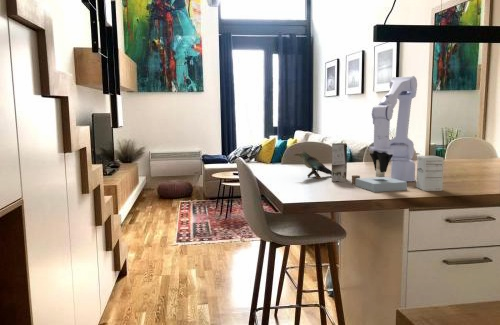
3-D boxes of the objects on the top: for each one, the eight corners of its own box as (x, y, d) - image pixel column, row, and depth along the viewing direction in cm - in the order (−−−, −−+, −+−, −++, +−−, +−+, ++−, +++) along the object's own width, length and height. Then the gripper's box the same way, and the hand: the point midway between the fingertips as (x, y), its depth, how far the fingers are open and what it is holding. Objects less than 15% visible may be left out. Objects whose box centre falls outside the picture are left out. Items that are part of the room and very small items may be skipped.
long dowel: (381, 175, 166) (381, 159, 165) (386, 176, 163) (386, 160, 162) (374, 176, 165) (374, 159, 164) (378, 177, 162) (379, 160, 161)
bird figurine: (328, 172, 202) (310, 137, 195) (341, 175, 193) (323, 139, 186) (307, 188, 198) (289, 154, 191) (320, 192, 189) (301, 156, 182)
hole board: (386, 183, 173) (386, 176, 173) (406, 189, 159) (406, 182, 159) (355, 185, 170) (355, 178, 169) (373, 191, 156) (373, 183, 156)
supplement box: (415, 187, 164) (416, 155, 163) (434, 187, 164) (436, 155, 163) (422, 191, 157) (424, 157, 155) (442, 190, 157) (444, 157, 155)
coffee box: (346, 182, 179) (347, 144, 177) (331, 181, 180) (331, 144, 178) (346, 178, 188) (346, 142, 186) (331, 178, 189) (332, 142, 187)
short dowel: (357, 183, 175) (357, 175, 175) (361, 184, 172) (361, 176, 172) (350, 183, 175) (350, 175, 174) (354, 185, 172) (354, 176, 171)
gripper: (362, 135, 168) (362, 169, 170) (382, 137, 154) (381, 174, 156) (378, 135, 170) (377, 168, 171) (399, 137, 156) (398, 173, 157)
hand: (380, 171), depth 164 cm, fingers closed on long dowel, 3 cm apart
